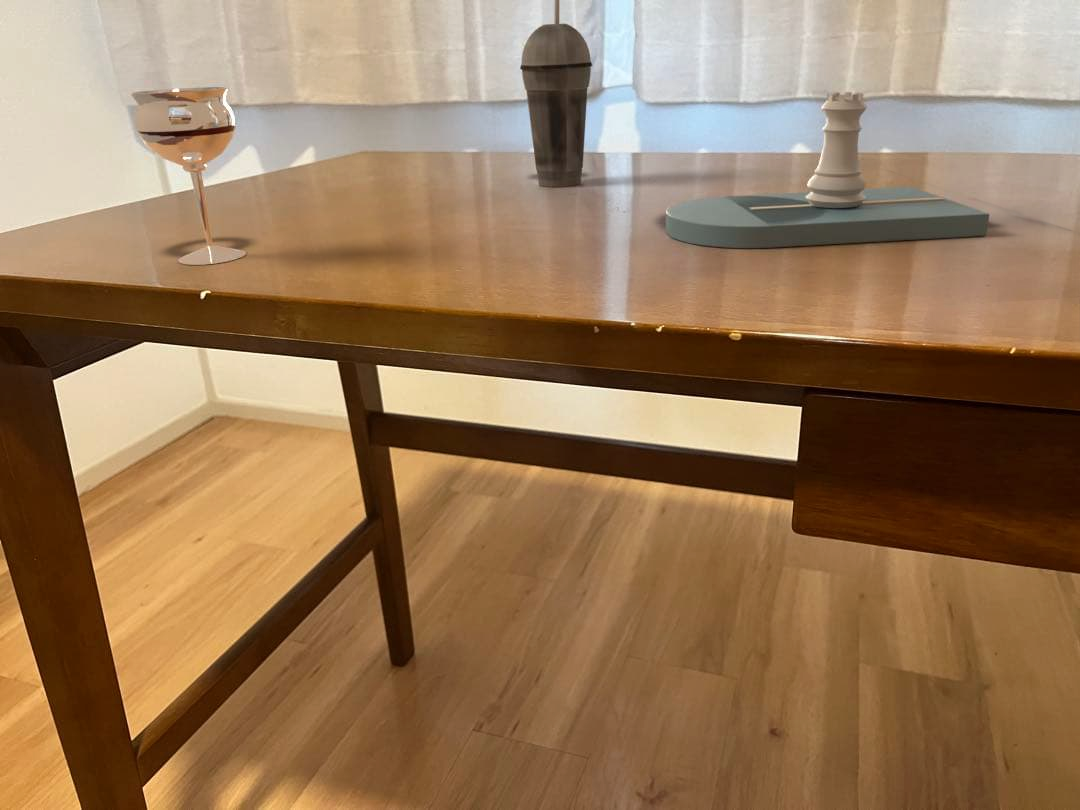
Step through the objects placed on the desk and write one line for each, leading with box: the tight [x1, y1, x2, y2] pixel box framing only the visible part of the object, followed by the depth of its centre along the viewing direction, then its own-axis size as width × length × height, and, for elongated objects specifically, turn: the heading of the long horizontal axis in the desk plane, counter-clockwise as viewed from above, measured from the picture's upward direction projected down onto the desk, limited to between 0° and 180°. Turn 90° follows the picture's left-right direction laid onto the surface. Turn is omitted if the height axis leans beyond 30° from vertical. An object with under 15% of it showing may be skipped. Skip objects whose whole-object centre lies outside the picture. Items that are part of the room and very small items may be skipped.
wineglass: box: [128, 86, 247, 266], centre depth 63 cm, size 7×7×12 cm
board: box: [665, 186, 990, 249], centre depth 66 cm, size 22×12×2 cm, turn 94°
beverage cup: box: [519, 0, 593, 188], centre depth 87 cm, size 7×7×20 cm
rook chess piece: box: [806, 91, 868, 208], centre depth 64 cm, size 4×4×8 cm
